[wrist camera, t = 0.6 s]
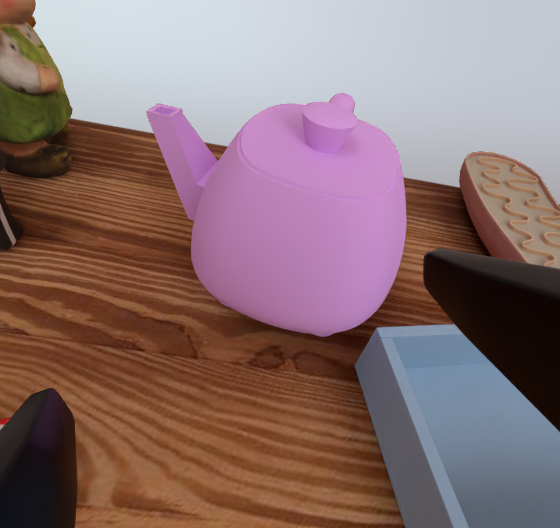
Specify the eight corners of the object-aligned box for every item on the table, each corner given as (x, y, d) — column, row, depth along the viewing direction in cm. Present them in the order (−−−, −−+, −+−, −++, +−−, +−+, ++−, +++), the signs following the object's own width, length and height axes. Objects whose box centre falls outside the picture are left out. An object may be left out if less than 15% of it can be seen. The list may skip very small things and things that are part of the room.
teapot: (210, 173, 43) (216, 20, 33) (385, 225, 42) (451, 83, 31) (109, 303, 29) (63, 110, 19) (366, 388, 28) (473, 231, 17)
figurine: (99, 173, 40) (49, -83, 26) (2, 194, 36) (-121, -101, 21) (65, 124, 45) (8, -111, 31) (-23, 136, 41) (-135, -130, 27)
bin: (695, 545, 24) (782, 528, 21) (428, 604, 20) (479, 595, 16) (557, 352, 33) (600, 318, 30) (353, 365, 29) (376, 326, 26)
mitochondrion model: (601, 338, 35) (647, 304, 32) (500, 327, 34) (536, 291, 31) (501, 190, 51) (524, 157, 48) (430, 180, 50) (448, 145, 47)
